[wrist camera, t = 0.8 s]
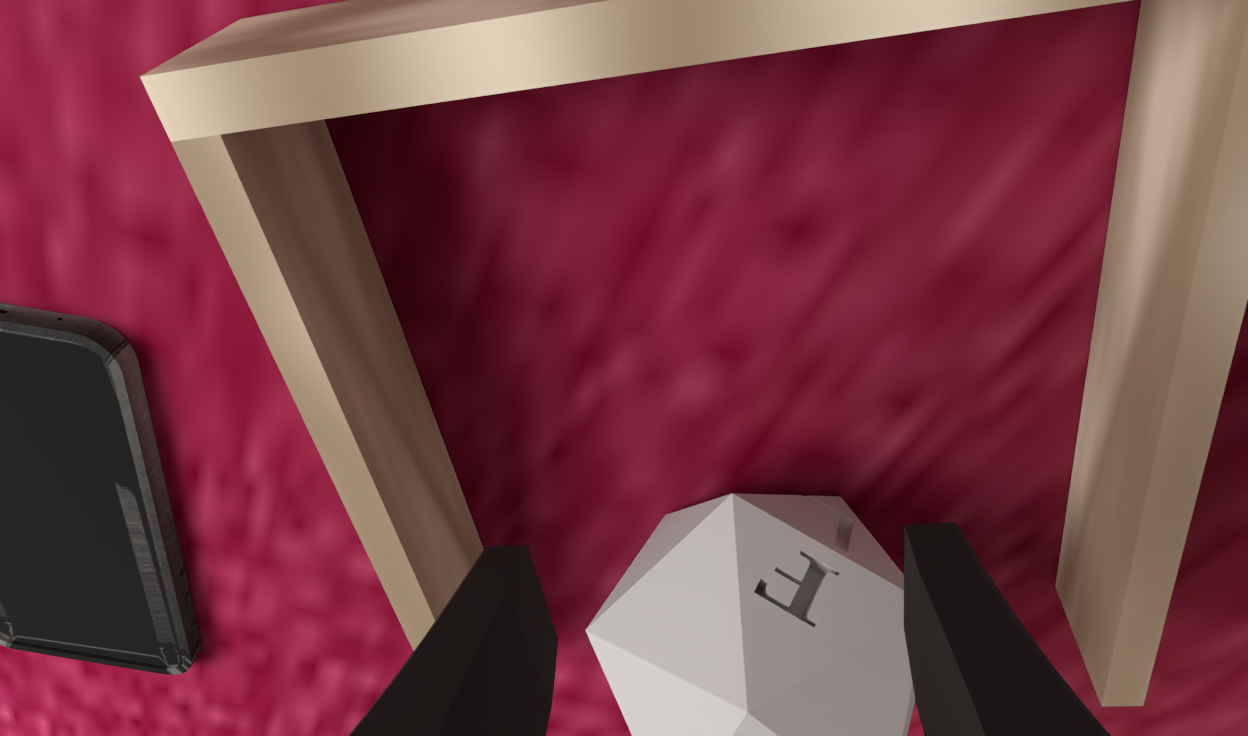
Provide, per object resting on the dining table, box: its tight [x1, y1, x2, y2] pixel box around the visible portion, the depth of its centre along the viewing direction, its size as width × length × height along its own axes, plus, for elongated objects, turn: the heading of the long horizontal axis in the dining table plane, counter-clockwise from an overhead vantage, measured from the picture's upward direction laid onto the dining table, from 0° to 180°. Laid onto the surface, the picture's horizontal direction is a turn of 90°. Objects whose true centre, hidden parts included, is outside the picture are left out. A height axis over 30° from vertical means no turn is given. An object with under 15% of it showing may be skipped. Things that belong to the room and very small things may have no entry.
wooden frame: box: [140, 0, 1248, 706], centre depth 21 cm, size 19×19×4 cm
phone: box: [0, 303, 202, 675], centre depth 28 cm, size 8×1×15 cm
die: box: [585, 493, 915, 736], centre depth 23 cm, size 8×9×10 cm
